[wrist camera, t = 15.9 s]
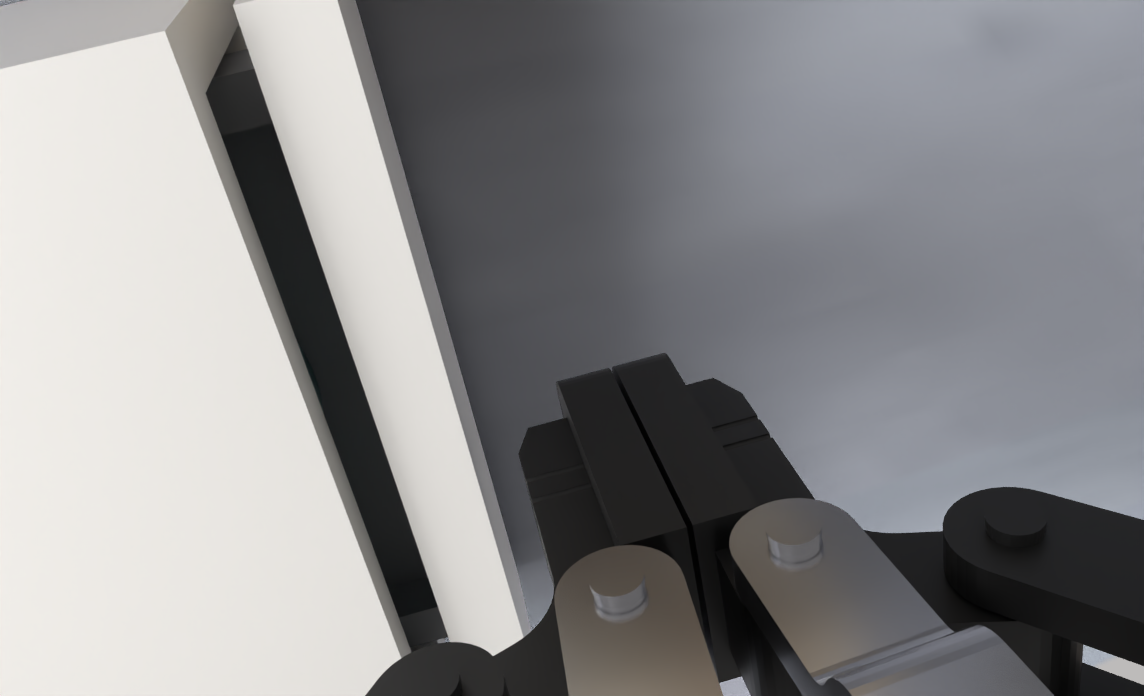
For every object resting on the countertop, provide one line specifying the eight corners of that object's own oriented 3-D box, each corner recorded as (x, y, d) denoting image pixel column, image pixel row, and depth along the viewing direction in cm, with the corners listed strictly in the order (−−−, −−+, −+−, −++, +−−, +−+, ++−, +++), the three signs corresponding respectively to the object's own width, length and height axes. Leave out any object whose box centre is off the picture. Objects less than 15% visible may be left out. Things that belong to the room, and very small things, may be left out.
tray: (-178, 774, 19) (-316, 1030, 15) (-682, 163, 13) (-1118, 319, 9) (519, 579, 20) (563, 771, 16) (336, -69, 14) (332, -18, 10)
